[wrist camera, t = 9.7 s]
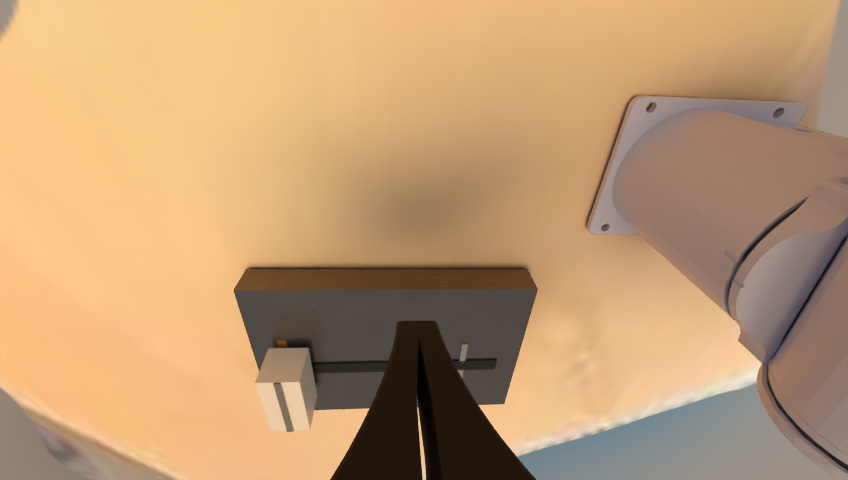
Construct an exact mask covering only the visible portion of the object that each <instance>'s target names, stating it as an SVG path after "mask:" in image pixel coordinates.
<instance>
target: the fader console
mask: <svg viewBox="0 0 848 480" xmlns="http://www.w3.org/2000/svg"><path fill="white" fill-rule="evenodd" d="M537 290H538V289H537V287H536V285H535V283H534V281H533V279H532V277H531V275H530V273H529V271H528V269H246V270H245V272H244V274H243V275H242V277H241V279H240V280H239V282H238V284H237V285H236V287H235V289H234V293H235V296H236V300H237V303H238V306H239V309H240V312H241V315H242V319H243V322H244V325H245V328H246V331H247V334H248V337H249V341H250V344H251V347H252V350H253V353H254V356H255V360H256V363H257V366H258V369H259V371H260V369H261V366H262V363H263V361H264V358H265V356H266V353H267V351H268V348H309V353H310V358H311V364H312V369H313V374H314V380H315V385H316V390H317V399H316V404H315V408H314V410H328V409H360V408H370V407H371V405H372V402H373V400H374V398H375V395H376V393H377V391H378V388H379V386H380V383H381V381H382V378H383V376H384V373H385V370H386V367H387V364H388V361H389V358H390V355H391V351H392V348H393V344H394V339H395V334H396V325H397V323H398V322H399V321H435V322H437V324H438V327H439V330H440V333H441V336H442V338H443V341H444V343H445V345H446V348H447V350H448V352H449V354H450V356H451V358H452V360H453V362H454V364H455V366H456V368H457V370H458V372H459V374H460V376H461V378H462V379H463V381H464V383H465V385H466V386H467V388H468V390H469V391H470V393H471V395H472V396H473V398H474V399H475V401H476V403H477V404H478V405H488V404H504V402H505V399H506V396H507V392H508V389H509V385H510V382H511V379H512V375H513V372H514V368H515V365H516V361H517V358H518V355H519V351H520V348H521V344H522V341H523V338H524V334H525V331H526V327H527V324H528V321H529V317H530V314H531V310H532V307H533V304H534V300H535V297H536V293H537ZM417 407H418V400H417Z"/></svg>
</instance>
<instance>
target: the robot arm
mask: <svg viewBox="0 0 848 480" xmlns="http://www.w3.org/2000/svg"><path fill="white" fill-rule="evenodd" d="M651 102H652V106H651V108H650V109H649V110H648V111H646V107H647V105H648V104H649V103H651ZM776 110H777V111H776ZM775 111H776V112H775ZM805 111H806V106H805V104H802V103H798V102H785V101H762V100H739V99H716V98H693V97H670V96H647V95H640V96H637V97H635V98H633V100H632V101H631V102H630V104H629V106H628V108H627V111H626V114H625V117H624V120H623V123H622V126H621V129H620V131H619V134H618V137H617V140H616V143H615V146H614V149H613V152H612V154H611V157H610V160H609V163H608V166H607V169H606V172H605V175H604V177H603V180H602V183H601V186H600V189H599V192H598V195H597V198H596V200H595V203H594V206H593V209H592V212H591V215H590V218H589V221H588V223H587V229H588V230H589V232H591V233H592V234H639V235H641V236H642V237H643V238H644V239H645V240H646V241H647V242H648V243H649V244H650V245H652V246H653V247H654V248H655V249H656V250H657V251H658V252H659V253H660V254H662V255H663V256H664V257H665V258H666V259H667V260H668V261H669V262H670V263H671V264H673V265H674V266H675V267H676V268H677V269H678V270H679V271H680V272H681V273H683V274H684V275H685V276H686V277H687V278H688V279H689V280H690V281H691V282H692V283H694V284H695V285H696V286H697V287H698V288H699V289H700V290H701V291H702V292H703V293H705V294H706V295H707V296H708V297H709V298H710V299H711V300H712V301H713V302H715V303H716V304H717V305H718V306H719V307H720V308H721V309H722V310H723V311H724V312H726V313H727V314H728V315H729V316H730V317H731V318H732V319H733V320H735V321H736V322H737V323H738V325H739V326H740V330H741V333H740V336H739V339H738V341H739V342H740V343H741V344H742V345H743V346H744V347H745V348H746V349H747V350H748V351H750V352H751V353H752V354H753V355H754V356H755V357H756V358H757V359H758V360H759V361H760V362H761V363H762V365H761V367H760V368H759V371H758V376H757V388H758V393H759V396H760V399H761V402H762V404H763V406H764V408H765V410H766V412H767V413H768V415H769V417H770V418H771V419H772V421H773V422H774V423H775V425H776V426H777V428H778V429H779V430H780V431H781V432H782V433H783V434H784V436H785V437H786V438H787V439H788V440H789V441H790V442H791V443H792V444H793V445H794V446H795V447H796V448H797V449H798V450H799V451H800V452H802V453H803V454H804V455H805V456H806V457H807V458H808V459H809V460H810V461H812V462H813V463H814V464H816V465H817V466H818V467H820V468H821V469H822V470H824V471H825V472H826V473H828V474H829V475H830V476H832V477H833V478H835V479H836V480H848V139H847V138H843V137H840V136H836V135H832V134H829V133H825V132H822V131H818V130H814V129H811V128H807V127H803V126H800V125H798V123H799V121H800V120H801V118H802V117H803V115H804V113H805ZM774 112H775V114H774ZM604 224H606V226H605V227H603V228H601V227H602V226H603V225H604ZM417 400H418V408H419V416H420V423H421V431H422V439H423V446H424V454H425V465H426V480H536V479H535V478H534V477H533V476H532V474H531V473H530V472H529V471H528V470H527V469H526V468H525V466H524V465H523V464H522V463H521V462H520V460H519V459H518V458H517V457H516V455H515V454H514V453H513V452H512V451H511V449H510V448H509V447H508V446H507V444H506V443H505V442H504V441H503V439H502V438H501V437H500V435H499V434H498V433H497V431H496V430H495V429H494V427H493V426H492V425H491V423H490V422H489V420H488V419H487V418H486V416H485V415H484V413H483V412H482V410H481V409H480V407H479V406H478V404H477V403H476V401H475V399H474V398H473V396H472V395H471V393H470V391H469V390H468V388H467V386H466V385H465V383H464V381H463V379H462V378H461V376H460V374H459V372H458V370H457V368H456V366H455V364H454V362H453V360H452V358H451V356H450V354H449V352H448V350H447V348H446V345H445V343H444V341H443V338H442V336H441V333H440V330H439V327H438V324H437V322H435V321H399V322H398V323H397V325H396V334H395V339H394V344H393V348H392V351H391V355H390V358H389V361H388V364H387V367H386V370H385V373H384V376H383V378H382V381H381V383H380V386H379V388H378V391H377V393H376V395H375V398H374V400H373V402H372V405H371V407H370V409H369V411H368V413H367V415H366V417H365V419H364V421H363V423H362V425H361V427H360V429H359V431H358V433H357V435H356V437H355V439H354V440H353V442H352V444H351V446H350V448H349V450H348V451H347V453H346V455H345V457H344V458H343V460H342V462H341V463H340V465H339V466H338V468H337V470H336V471H335V473H334V475H333V476H332V478H331V479H330V480H422V468H421V456H420V442H419V429H418V414H417Z"/></svg>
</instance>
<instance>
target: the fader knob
mask: <svg viewBox="0 0 848 480" xmlns="http://www.w3.org/2000/svg"><path fill="white" fill-rule="evenodd" d="M255 385H256V388H257V391H258V394H259V397H260V400H261V403H262V406H263V409H264V412H265V415H266V418H267V420H268V423H269V426H270V429H271V431H277V430H287V432H291V431H294V430H305V429H310V427H311V423H312V418H313V413H314V408H315V404H316V399H317V390H316V385H315V380H314V374H313V369H312V364H311V358H310V353H309V348H268V351H267V353H266V356H265V358H264V361H263V363H262V366H261V369H260V371H259V374H258V376H257V379H256V382H255Z"/></svg>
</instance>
